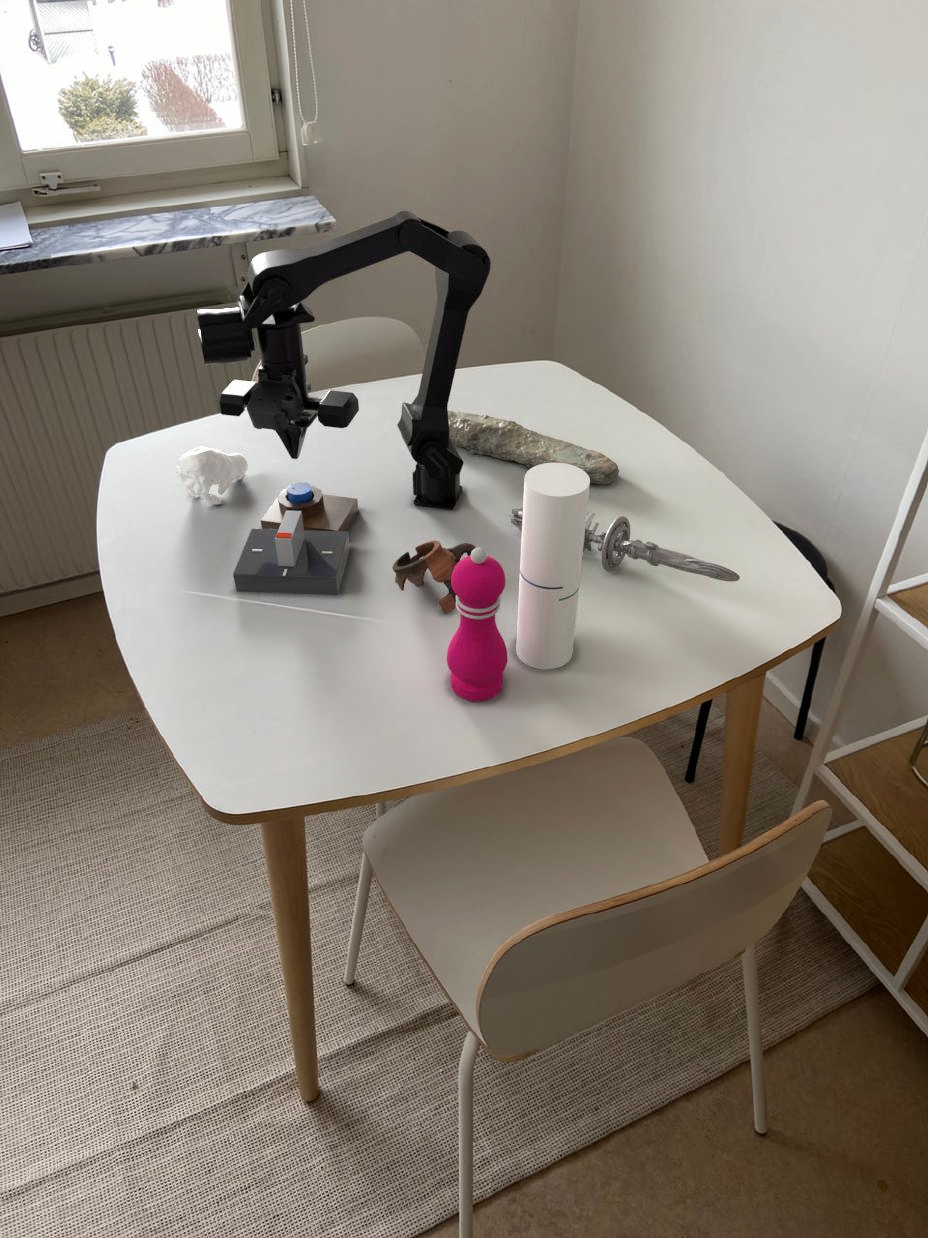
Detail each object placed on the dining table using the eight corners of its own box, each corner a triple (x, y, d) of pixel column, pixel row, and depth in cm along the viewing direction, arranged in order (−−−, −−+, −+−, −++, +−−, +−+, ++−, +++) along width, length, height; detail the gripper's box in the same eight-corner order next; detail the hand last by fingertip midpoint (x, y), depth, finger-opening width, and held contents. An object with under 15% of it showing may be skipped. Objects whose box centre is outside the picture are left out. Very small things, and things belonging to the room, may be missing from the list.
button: (316, 493, 139) (314, 483, 138) (307, 506, 136) (306, 495, 135) (293, 490, 139) (292, 480, 138) (284, 503, 137) (283, 493, 136)
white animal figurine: (169, 450, 138) (226, 425, 147) (176, 501, 143) (231, 474, 152) (199, 462, 136) (256, 436, 144) (205, 513, 140) (260, 485, 149)
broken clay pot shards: (430, 628, 121) (401, 576, 118) (404, 616, 129) (376, 567, 126) (502, 579, 124) (475, 526, 121) (472, 570, 132) (446, 521, 130)
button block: (358, 510, 142) (356, 488, 139) (339, 543, 135) (336, 520, 132) (285, 501, 144) (281, 478, 141) (262, 532, 137) (258, 509, 135)
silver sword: (725, 583, 115) (750, 535, 118) (491, 518, 132) (517, 478, 135) (729, 618, 121) (752, 571, 124) (505, 552, 139) (530, 513, 141)
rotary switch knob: (289, 537, 131) (285, 508, 128) (305, 537, 131) (301, 509, 128) (278, 566, 126) (274, 537, 122) (294, 566, 125) (290, 538, 122)
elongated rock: (600, 504, 146) (625, 479, 153) (606, 475, 142) (631, 450, 149) (415, 437, 158) (445, 417, 165) (416, 409, 155) (447, 389, 162)
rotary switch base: (350, 548, 134) (348, 529, 132) (337, 595, 125) (335, 577, 123) (254, 544, 135) (251, 526, 133) (235, 592, 126) (232, 573, 124)
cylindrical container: (512, 633, 119) (520, 463, 104) (567, 630, 120) (583, 461, 104) (520, 671, 114) (529, 497, 98) (577, 667, 114) (595, 494, 98)
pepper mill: (500, 709, 109) (506, 572, 96) (441, 700, 110) (438, 564, 97) (510, 668, 114) (517, 534, 102) (453, 660, 115) (453, 526, 103)
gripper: (190, 373, 119) (211, 478, 129) (327, 387, 116) (338, 494, 126) (226, 339, 127) (244, 440, 137) (355, 351, 124) (363, 454, 134)
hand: (295, 457), depth 133 cm, fingers closed
